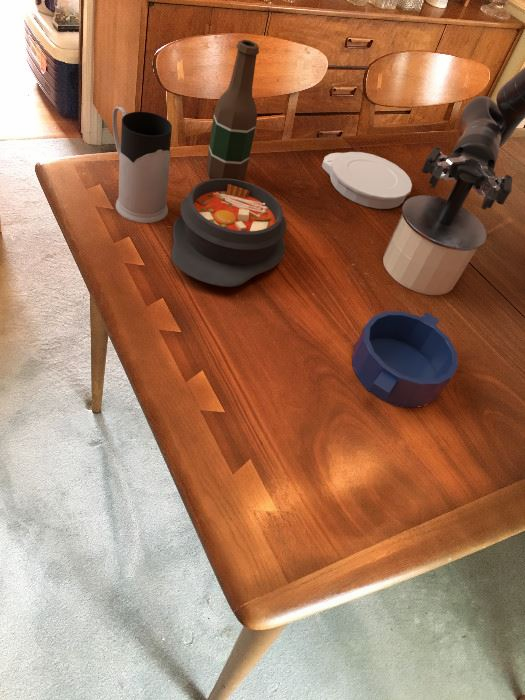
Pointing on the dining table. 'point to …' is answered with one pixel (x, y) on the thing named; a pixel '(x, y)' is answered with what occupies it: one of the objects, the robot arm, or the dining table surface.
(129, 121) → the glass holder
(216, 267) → the casserole
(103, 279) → the dining table surface
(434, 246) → the pot
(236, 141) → the beer bottle
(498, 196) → the robot arm
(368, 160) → the lid
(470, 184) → the steel lid
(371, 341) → the pan
